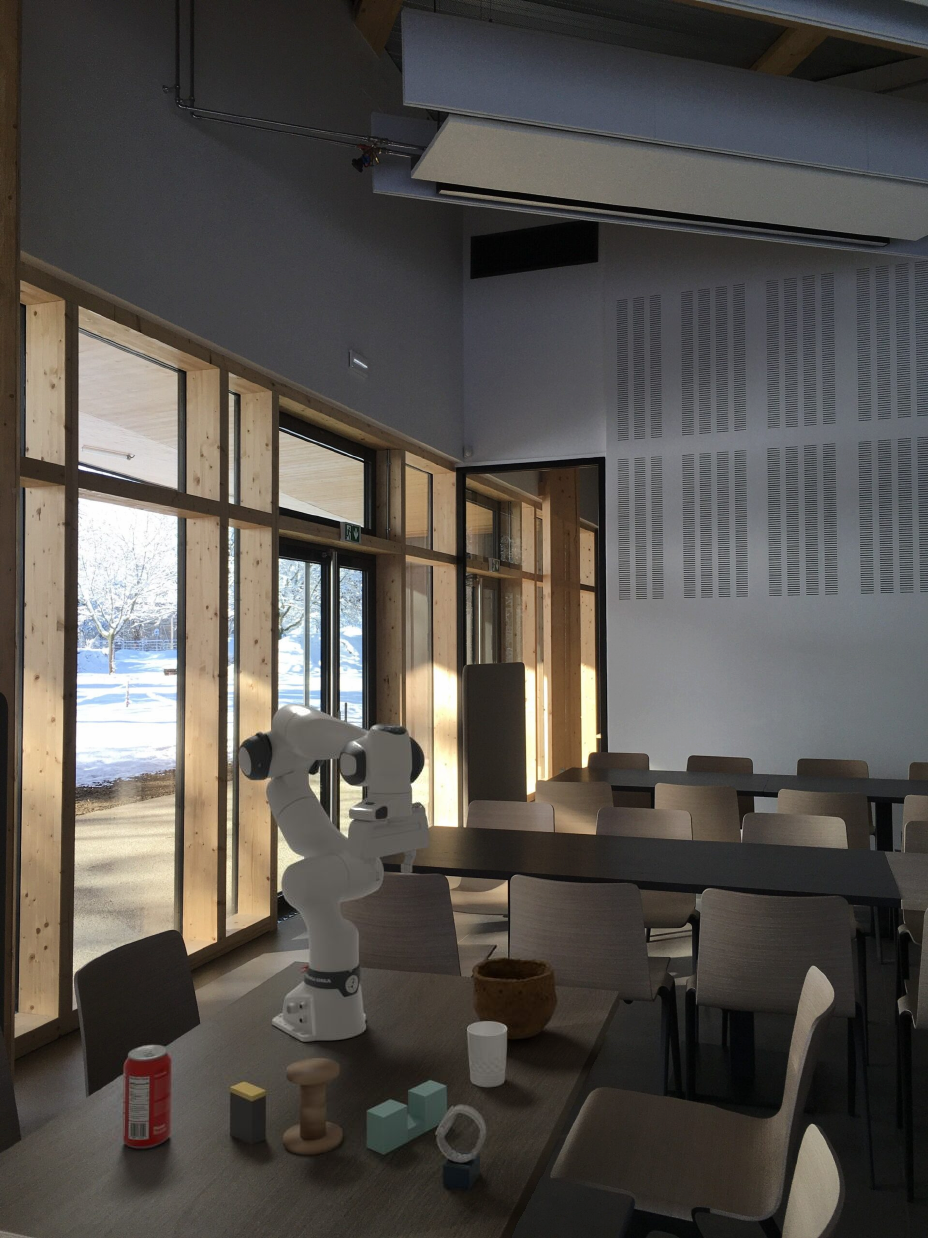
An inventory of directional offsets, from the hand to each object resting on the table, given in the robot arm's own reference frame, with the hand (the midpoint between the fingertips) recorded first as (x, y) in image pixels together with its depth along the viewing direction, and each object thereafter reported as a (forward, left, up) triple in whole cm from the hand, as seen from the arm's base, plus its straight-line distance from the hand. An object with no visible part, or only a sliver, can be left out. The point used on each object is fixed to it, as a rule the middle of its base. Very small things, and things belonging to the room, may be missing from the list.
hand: (390, 877), depth 192 cm
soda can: (-16, -44, -40) cm, 61 cm away
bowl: (+4, +34, -40) cm, 52 cm away
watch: (+34, -20, -40) cm, 56 cm away
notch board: (+17, -14, -39) cm, 45 cm away
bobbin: (+6, -26, -39) cm, 48 cm away
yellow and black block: (-4, -32, -40) cm, 51 cm away
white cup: (+14, +12, -40) cm, 44 cm away
